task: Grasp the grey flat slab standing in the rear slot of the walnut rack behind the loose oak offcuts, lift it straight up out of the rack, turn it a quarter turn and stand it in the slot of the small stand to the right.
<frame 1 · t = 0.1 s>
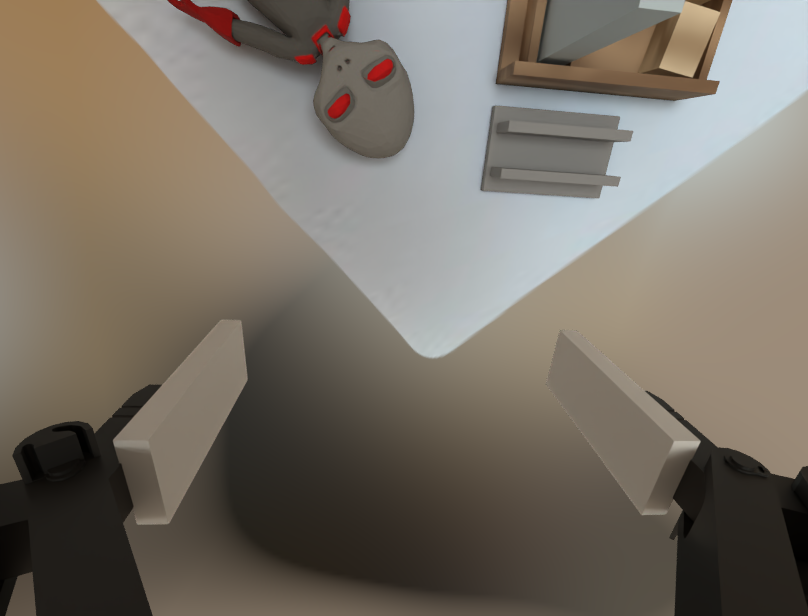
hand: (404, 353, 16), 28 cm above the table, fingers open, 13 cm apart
stand: (546, 154, 40), on the table
offcut c: (664, 49, 36), point 1 cm above the table, touching rack
toy: (292, 6, 34), on the table
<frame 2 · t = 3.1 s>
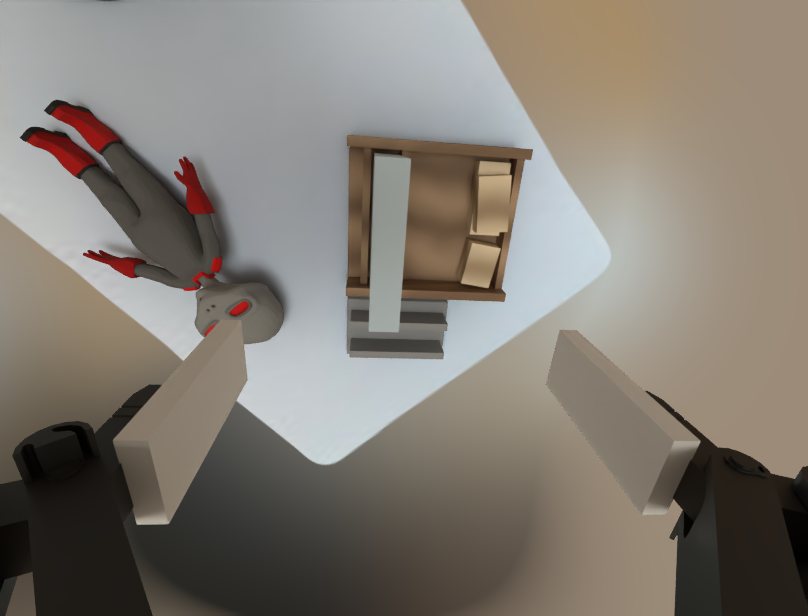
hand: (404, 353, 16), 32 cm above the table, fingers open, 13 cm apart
grey flat slab: (382, 217, 44), point 1 cm above the table, touching rack
rack: (427, 218, 46), on the table
offcut a: (484, 197, 44), point 1 cm above the table, touching offcut b, rack
stand: (396, 325, 51), on the table
offcut c: (474, 259, 47), point 1 cm above the table, touching rack
toy: (186, 235, 45), on the table
offcut b: (488, 202, 43), point 3 cm above the table, touching offcut a
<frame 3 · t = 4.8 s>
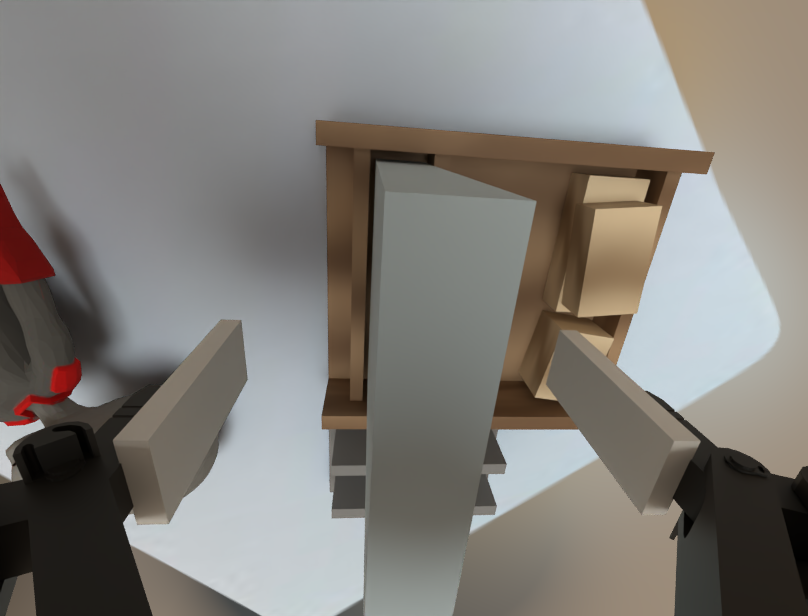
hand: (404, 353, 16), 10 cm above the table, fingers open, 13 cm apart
grey flat slab: (391, 279, 24), point 1 cm above the table, touching rack
rack: (472, 277, 25), on the table
offcut a: (582, 241, 24), point 1 cm above the table, touching offcut b, rack
stand: (411, 444, 31), on the table
offcut c: (552, 345, 27), point 1 cm above the table, touching rack
toy: (30, 308, 24), on the table
offcut b: (597, 254, 22), point 3 cm above the table, touching offcut a
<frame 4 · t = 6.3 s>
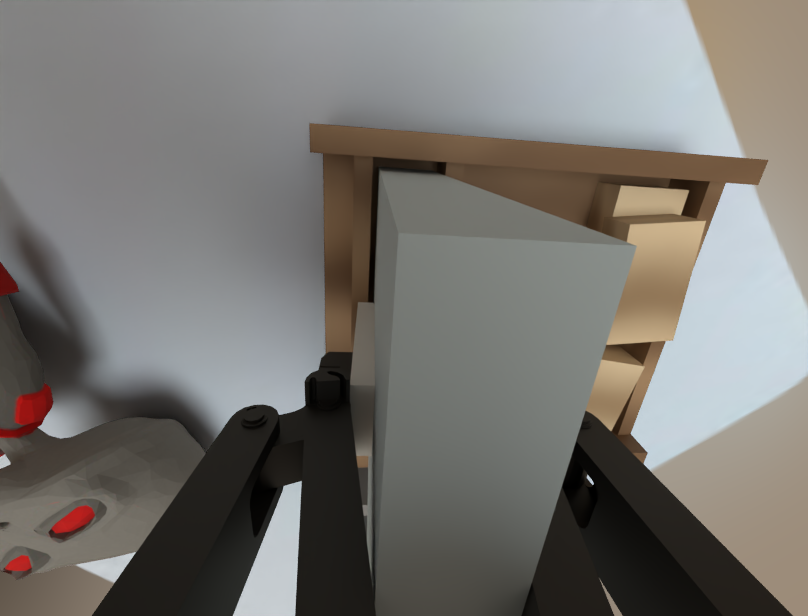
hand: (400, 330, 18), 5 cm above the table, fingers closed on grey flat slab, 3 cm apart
grey flat slab: (396, 299, 21), point 1 cm above the table, touching gripper, rack
rack: (485, 296, 23), on the table
offcut a: (608, 258, 21), point 1 cm above the table, touching offcut b, rack
stand: (417, 475, 28), on the table
offcut c: (573, 370, 24), point 1 cm above the table, touching rack
toy: (0, 327, 22), on the table
offcut b: (626, 273, 20), point 3 cm above the table, touching offcut a
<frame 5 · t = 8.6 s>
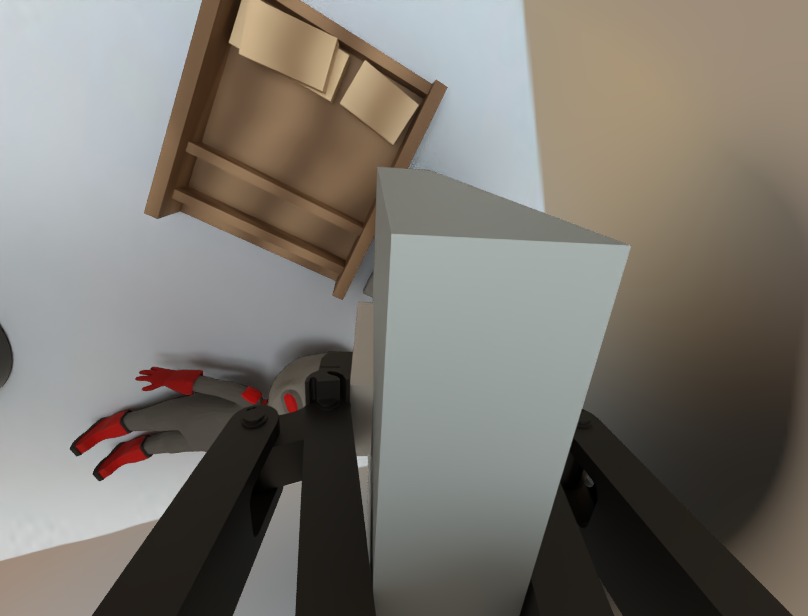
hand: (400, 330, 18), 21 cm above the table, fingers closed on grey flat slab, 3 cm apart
grey flat slab: (395, 299, 21), point 17 cm above the table, touching gripper
rack: (302, 151, 33), on the table
offcut a: (294, 55, 30), point 1 cm above the table, touching offcut b, rack
offcut c: (378, 107, 32), point 1 cm above the table, touching rack
toy: (235, 398, 43), on the table
offcut b: (293, 52, 28), point 3 cm above the table, touching offcut a
when the fingers open (6 cm above the table, at t = 11.2 s): grey flat slab drops 1 cm, resting on stand.
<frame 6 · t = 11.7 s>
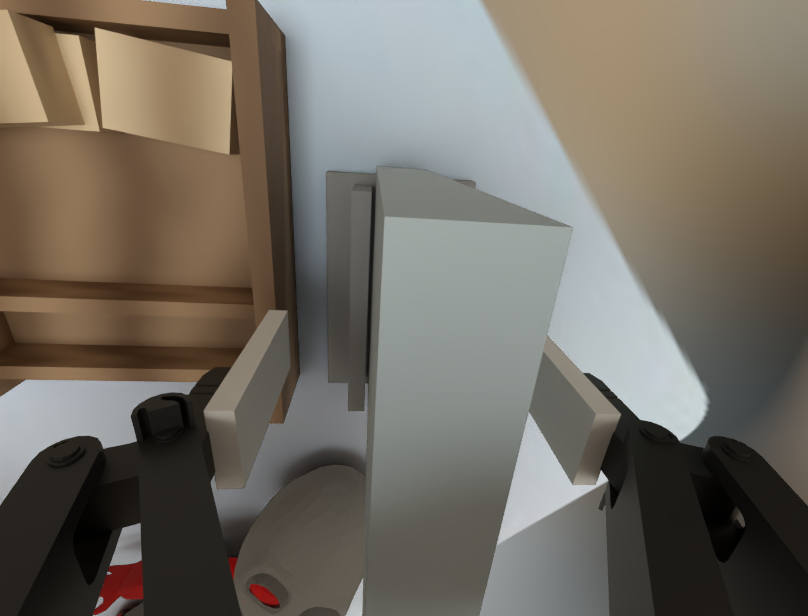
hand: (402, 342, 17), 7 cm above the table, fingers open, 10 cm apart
grey flat slab: (393, 292, 22), point 1 cm above the table, touching stand
rack: (136, 224, 21), on the table
offcut a: (25, 84, 17), point 1 cm above the table, touching offcut b, rack
stand: (394, 286, 23), on the table
offcut c: (198, 103, 18), point 1 cm above the table, touching rack
toy: (239, 551, 32), on the table
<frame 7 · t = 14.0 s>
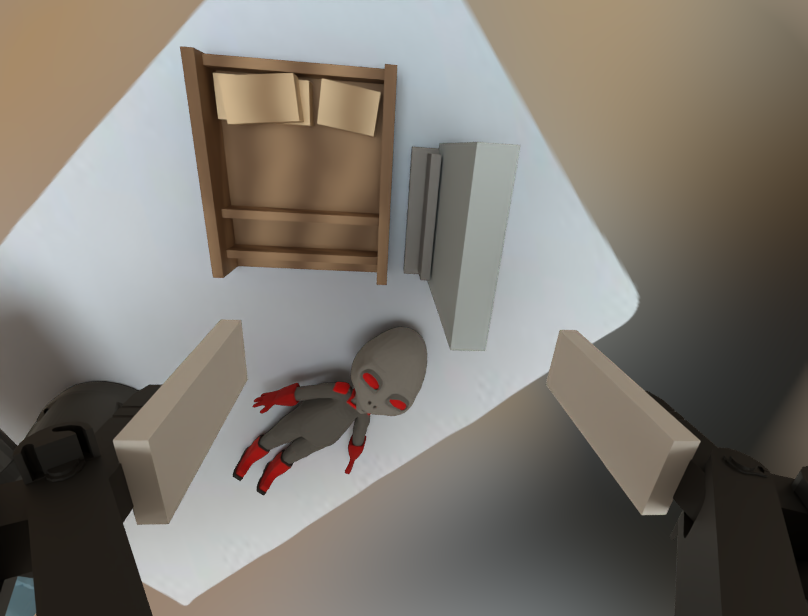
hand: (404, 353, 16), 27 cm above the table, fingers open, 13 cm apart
grey flat slab: (445, 216, 40), point 1 cm above the table, touching stand
rack: (306, 176, 38), on the table
offcut a: (269, 102, 35), point 1 cm above the table, touching offcut b, rack
stand: (444, 214, 40), on the table
offcut c: (351, 111, 35), point 1 cm above the table, touching rack
toy: (334, 397, 50), on the table
offcut b: (266, 101, 33), point 3 cm above the table, touching offcut a
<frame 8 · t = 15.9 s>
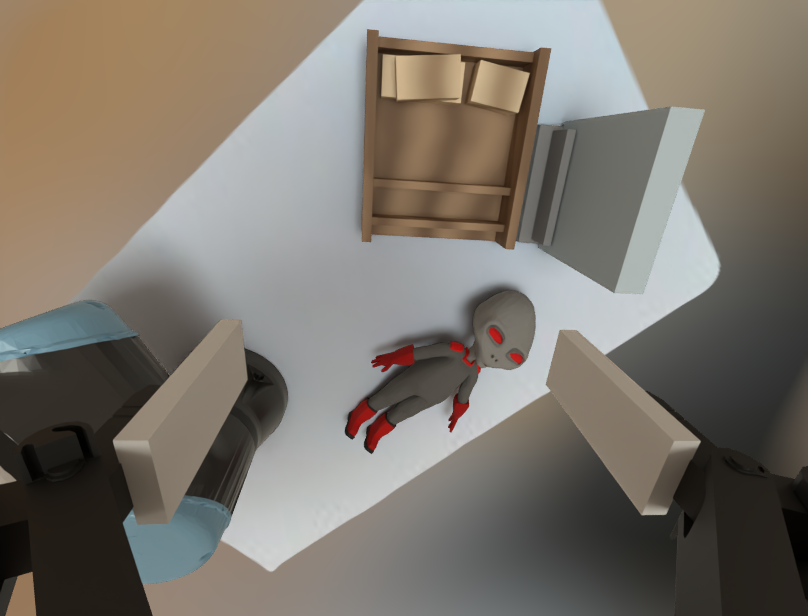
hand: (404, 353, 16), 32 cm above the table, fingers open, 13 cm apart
grey flat slab: (561, 189, 44), point 1 cm above the table, touching stand
rack: (441, 152, 42), on the table
offcut a: (420, 82, 39), point 1 cm above the table, touching offcut b, rack
stand: (558, 188, 45), on the table
offcut c: (491, 91, 39), point 1 cm above the table, touching rack
toy: (435, 361, 53), on the table
offcut b: (425, 80, 37), point 3 cm above the table, touching offcut a
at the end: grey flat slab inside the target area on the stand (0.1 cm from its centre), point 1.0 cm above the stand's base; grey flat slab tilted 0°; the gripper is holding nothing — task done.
